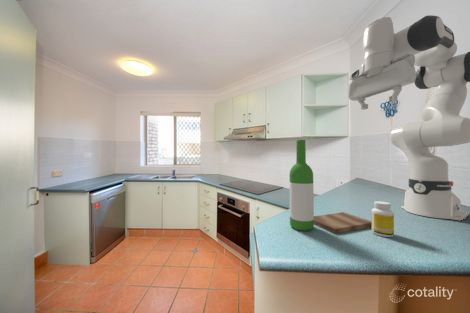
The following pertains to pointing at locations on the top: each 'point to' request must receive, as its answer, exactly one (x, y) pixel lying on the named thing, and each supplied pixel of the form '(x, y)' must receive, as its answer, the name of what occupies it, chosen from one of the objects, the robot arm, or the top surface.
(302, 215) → the wine bottle
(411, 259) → the top surface
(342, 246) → the top surface
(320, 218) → the walnut board
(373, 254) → the top surface
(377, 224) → the supplement bottle
